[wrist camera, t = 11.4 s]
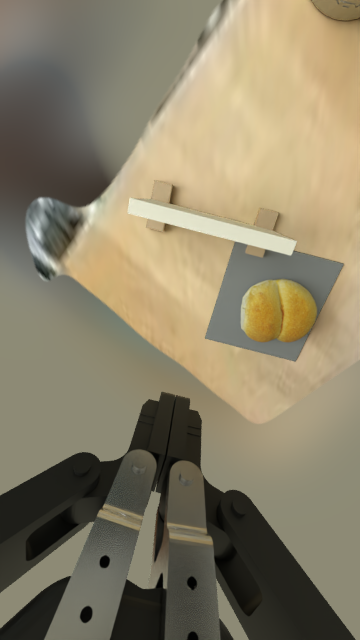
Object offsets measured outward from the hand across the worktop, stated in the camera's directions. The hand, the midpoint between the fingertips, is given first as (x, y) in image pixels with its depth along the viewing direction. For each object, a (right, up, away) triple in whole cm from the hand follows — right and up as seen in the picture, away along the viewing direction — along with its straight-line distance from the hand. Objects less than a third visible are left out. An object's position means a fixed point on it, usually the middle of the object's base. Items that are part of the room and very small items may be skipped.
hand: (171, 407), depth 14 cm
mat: (+12, +7, +21) cm, 25 cm away
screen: (+4, +16, +17) cm, 24 cm away
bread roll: (+13, +6, +21) cm, 25 cm away
